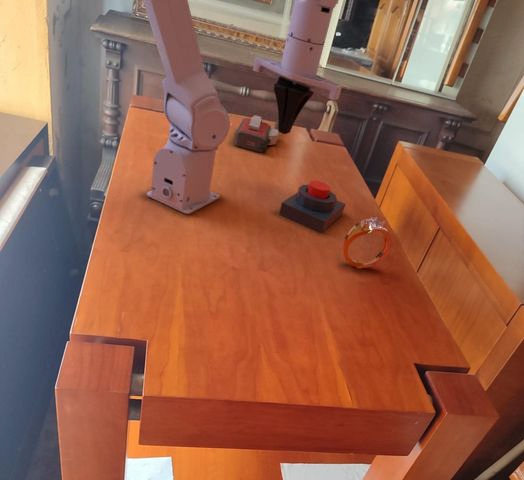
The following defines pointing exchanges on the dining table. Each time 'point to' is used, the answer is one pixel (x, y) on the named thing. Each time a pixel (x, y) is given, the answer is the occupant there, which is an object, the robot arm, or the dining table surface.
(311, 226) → the switch box
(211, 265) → the dining table surface
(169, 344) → the dining table surface
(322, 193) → the light button
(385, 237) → the ring
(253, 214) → the dining table surface
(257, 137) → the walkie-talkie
